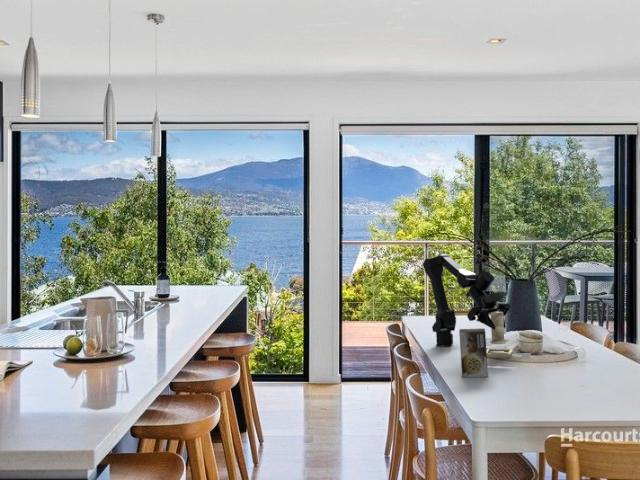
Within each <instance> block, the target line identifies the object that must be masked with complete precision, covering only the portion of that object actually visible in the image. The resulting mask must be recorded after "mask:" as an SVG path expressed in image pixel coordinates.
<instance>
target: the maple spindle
mask: <svg viewBox="0 0 640 480" xmlns="http://www.w3.org/2000/svg"><path fill="white" fill-rule="evenodd" d="M490 319H491V320H492V322H493V324H494V325H495V329H492V328H490V330H491V339H490V340H489V341H490V344H492V345H504V344H506V343H507V340H505V339H504V321H505V320H504V321H503V312H491V314H490Z"/></svg>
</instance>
